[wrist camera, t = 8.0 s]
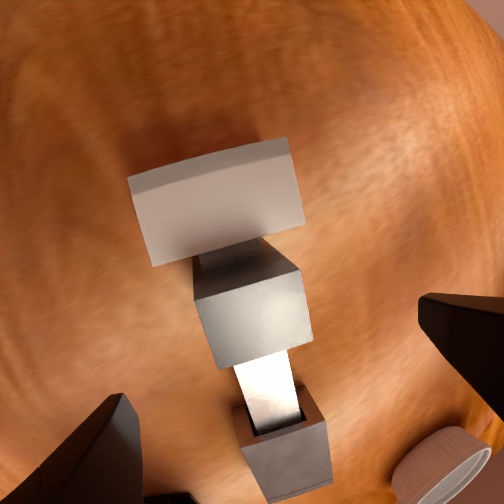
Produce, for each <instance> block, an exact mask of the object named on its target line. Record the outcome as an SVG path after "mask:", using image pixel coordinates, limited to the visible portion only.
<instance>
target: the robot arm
mask: <svg viewBox="0 0 504 504" xmlns="http://www.w3.org/2000/svg"><path fill="white" fill-rule="evenodd" d="M418 323H419V325H420V327H421V329H422V330H423V331H424V332H425V334H426V335H427V336H428V337H429V339H430V340H431V341H432V342H433V344H434V345H435V346H436V348H437V349H438V350H439V351H440V353H441V354H442V355H443V356H444V358H445V359H446V360H447V361H448V362H449V363H450V364H451V365H452V366H453V367H454V368H455V369H456V370H457V372H458V373H459V374H460V375H461V376H462V377H463V378H464V379H465V380H466V381H467V382H468V383H469V384H470V385H471V386H472V388H473V389H474V390H475V391H476V392H477V393H478V394H479V395H480V396H481V397H482V398H483V400H484V401H485V402H486V403H487V404H488V405H489V406H490V407H491V408H492V410H493V411H494V412H495V413H496V414H497V415H498V416H499V417H500V419H501V420H502V421H503V422H504V298H503V297H487V296H472V295H457V294H444V293H427V294H425V295H423V296H421V297H420V298H419V300H418ZM0 504H199V503H198V502H197V501H196V500H195V499H194V497H193V496H192V495H191V494H189V493H182V494H175V495H167V496H157V497H146V498H143V462H142V451H141V441H140V429H139V419H138V416H137V413H136V412H135V410H134V408H133V407H132V405H131V403H130V402H129V400H128V398H127V397H126V395H125V394H123V393H118V394H112V395H110V396H108V397H107V398H106V399H105V400H104V401H103V403H102V404H101V405H100V406H99V407H98V408H97V409H96V410H95V411H94V412H93V413H92V414H91V415H90V416H89V417H88V418H87V419H86V420H85V421H84V422H83V423H82V424H81V425H80V426H79V427H78V428H77V429H76V430H75V431H74V432H73V433H72V434H71V435H70V436H69V437H68V438H67V439H66V440H65V441H64V442H63V443H62V444H61V445H60V446H59V447H58V448H57V449H56V450H55V451H54V452H53V453H52V454H51V455H50V456H49V457H48V458H47V459H46V460H45V461H44V462H43V463H42V464H41V465H40V467H37V468H36V470H35V471H34V472H33V473H32V474H31V475H30V476H28V477H27V478H26V479H25V480H24V481H23V482H22V483H21V484H20V485H19V486H18V487H17V488H15V489H14V490H13V491H12V492H11V493H10V494H9V495H7V496H6V497H5V498H4V499H2V500H1V501H0Z"/></svg>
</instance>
